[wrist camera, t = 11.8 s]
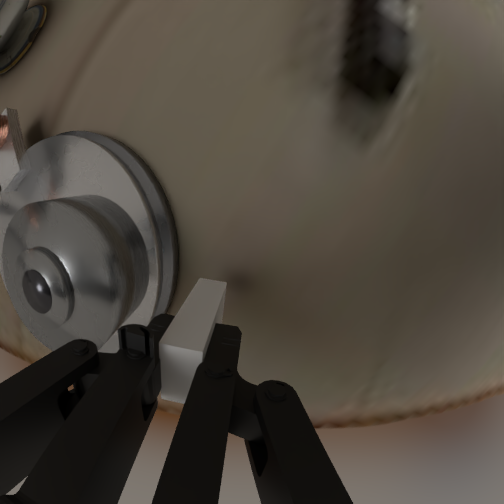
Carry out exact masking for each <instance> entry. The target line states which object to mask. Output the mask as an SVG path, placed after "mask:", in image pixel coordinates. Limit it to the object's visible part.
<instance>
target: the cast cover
mask: <svg viewBox="0 0 504 504" xmlns="http://www.w3.org/2000/svg"><path fill="white" fill-rule="evenodd" d="M2 263H3V272H4V278H5V283H6V287H7V290H8V293H9V296H10V298H11V301H12V303H13V305H14V307H15V309H16V311H17V313H18V315H19V317H20V318H21V320H22V321H23V323H24V324H25V326H26V327H27V328H28V329H29V331H30V332H31V333H32V334H33V335H34V336H35V337H36V338H37V339H38V340H39V341H40V342H41V343H42V344H44V345H45V346H46V347H48V348H49V349H51V350H52V351H55V350H56V349H58V348H60V347H61V346H63V345H65V344H66V343H68V342H70V341H72V340H75V339H87V340H90V341H92V342H93V343H95V344H96V346H97V349H98V350H100V349H101V347H102V346H103V345H104V344H105V343H106V342H107V341H108V340H109V339H110V337H111V336H112V335H113V334H114V333H115V332H116V331H117V330H118V329H119V328H120V327H121V325H122V324H123V323H124V322H125V321H126V320H127V319H128V318H129V317H130V316H131V315H132V314H133V313H134V311H135V310H136V309H137V308H138V307H139V306H140V304H141V302H142V301H143V299H144V297H145V294H146V292H147V288H148V283H149V259H148V253H147V249H146V246H145V243H144V240H143V237H142V235H141V233H140V231H139V229H138V227H137V226H136V224H135V222H134V221H133V220H132V218H131V217H130V216H129V214H128V213H127V212H126V211H125V210H124V209H123V208H122V207H120V206H119V205H118V204H116V203H115V202H113V201H112V200H110V199H108V198H105V197H103V196H98V195H80V196H72V197H65V198H58V199H51V200H44V201H38V202H33V203H29V204H27V205H25V206H23V207H22V208H21V209H19V210H18V211H17V212H16V214H15V215H14V216H13V218H12V219H11V221H10V223H9V225H8V227H7V230H6V233H5V237H4V242H3V251H2Z"/></svg>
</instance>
